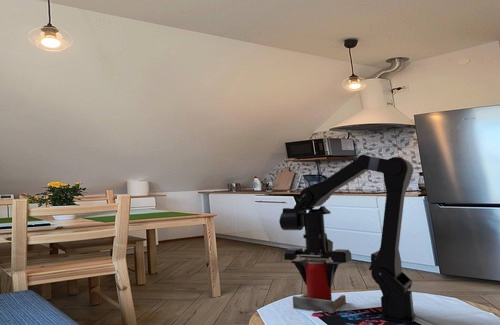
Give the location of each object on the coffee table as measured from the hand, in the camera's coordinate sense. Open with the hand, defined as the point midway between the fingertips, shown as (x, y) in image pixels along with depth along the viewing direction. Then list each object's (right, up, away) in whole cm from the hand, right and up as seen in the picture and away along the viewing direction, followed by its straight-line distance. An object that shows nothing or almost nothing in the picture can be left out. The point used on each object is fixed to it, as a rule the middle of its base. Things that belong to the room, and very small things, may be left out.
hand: (318, 286), depth 94 cm
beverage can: (0, -5, -1) cm, 5 cm away
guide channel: (0, -5, -1) cm, 5 cm away
